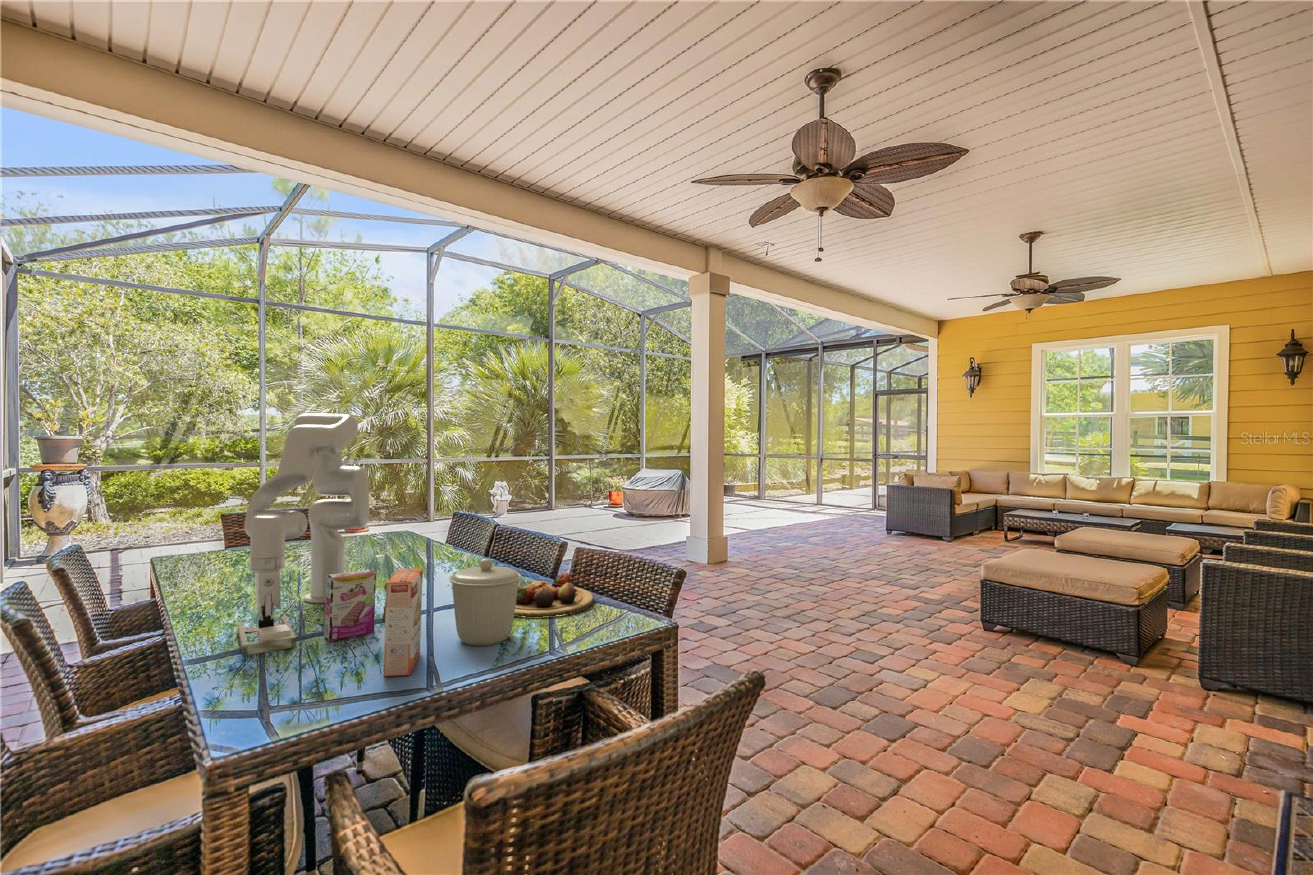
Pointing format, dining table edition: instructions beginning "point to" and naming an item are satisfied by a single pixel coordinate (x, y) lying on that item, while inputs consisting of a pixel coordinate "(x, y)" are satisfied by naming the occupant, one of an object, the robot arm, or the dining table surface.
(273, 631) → the cream block
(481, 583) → the canister
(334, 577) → the candy bar box
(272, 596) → the robot arm
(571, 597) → the wooden plate with food
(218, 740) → the dining table surface
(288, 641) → the finger lane
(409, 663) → the cracker box
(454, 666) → the dining table surface
